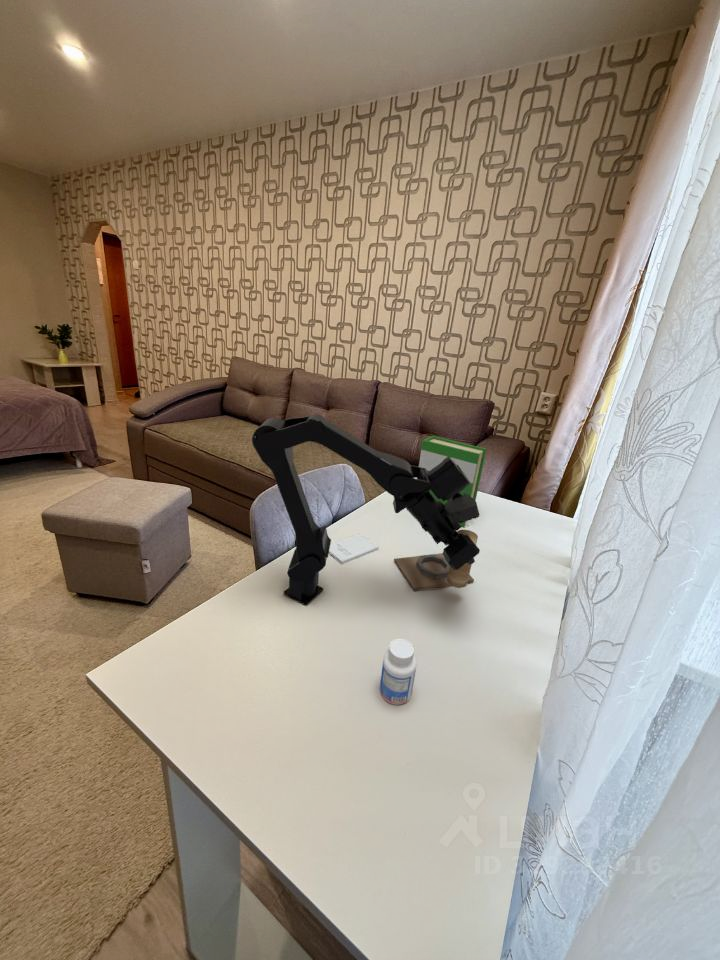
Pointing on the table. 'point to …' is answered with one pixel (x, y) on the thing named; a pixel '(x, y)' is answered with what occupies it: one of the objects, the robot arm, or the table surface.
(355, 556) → the external hard drive
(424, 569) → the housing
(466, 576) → the light brown tall cylinder
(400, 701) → the pill bottle
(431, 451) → the hardback book
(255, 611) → the table surface
